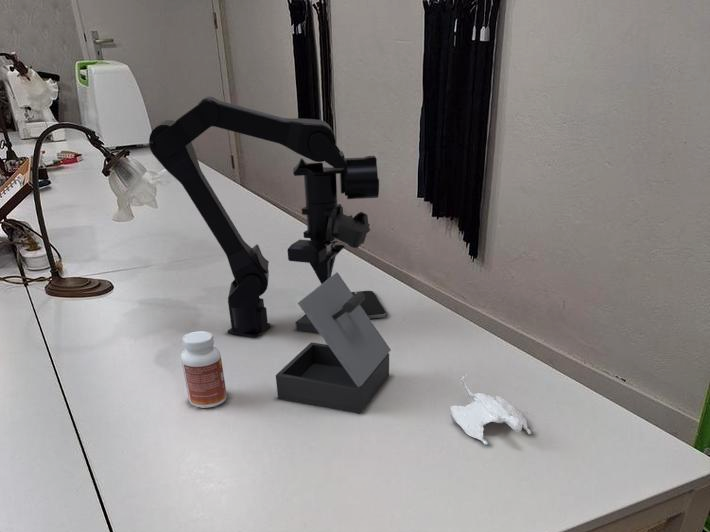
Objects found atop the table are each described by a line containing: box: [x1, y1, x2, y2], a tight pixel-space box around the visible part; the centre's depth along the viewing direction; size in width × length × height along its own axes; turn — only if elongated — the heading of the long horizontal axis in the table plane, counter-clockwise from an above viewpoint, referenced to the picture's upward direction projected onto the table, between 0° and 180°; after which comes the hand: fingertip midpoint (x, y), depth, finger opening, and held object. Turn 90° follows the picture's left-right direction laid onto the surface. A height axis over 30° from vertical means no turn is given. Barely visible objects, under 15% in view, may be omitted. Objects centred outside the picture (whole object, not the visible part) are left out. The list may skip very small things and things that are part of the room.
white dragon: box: [450, 374, 532, 446], centre depth 99 cm, size 18×10×4 cm, turn 21°
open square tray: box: [275, 341, 390, 414], centre depth 108 cm, size 15×14×4 cm
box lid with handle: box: [297, 272, 392, 387], centre depth 101 cm, size 15×14×5 cm
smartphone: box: [351, 290, 387, 320], centre depth 139 cm, size 8×1×15 cm
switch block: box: [295, 313, 319, 334], centre depth 130 cm, size 10×8×4 cm
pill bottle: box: [180, 330, 228, 409], centre depth 104 cm, size 6×6×11 cm
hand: (325, 285), depth 127 cm, fingers closed
